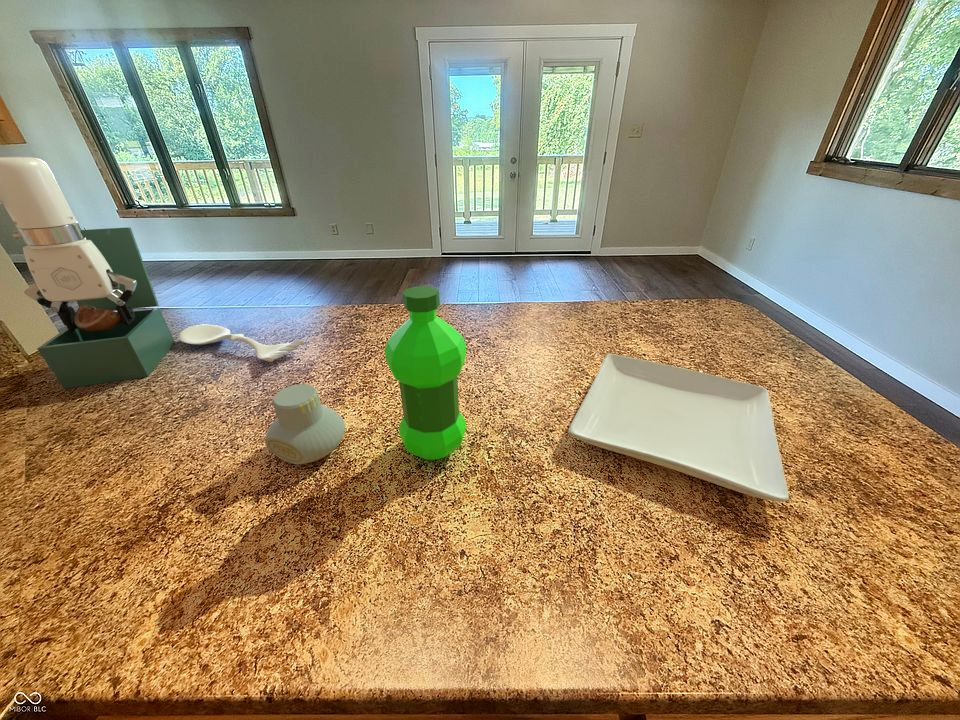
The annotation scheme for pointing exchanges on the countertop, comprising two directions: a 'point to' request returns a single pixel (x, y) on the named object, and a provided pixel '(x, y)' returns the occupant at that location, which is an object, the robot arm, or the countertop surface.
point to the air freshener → (303, 426)
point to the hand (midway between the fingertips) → (103, 324)
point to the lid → (122, 266)
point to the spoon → (218, 333)
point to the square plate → (685, 424)
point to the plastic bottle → (427, 376)
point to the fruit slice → (96, 318)
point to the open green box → (109, 351)
